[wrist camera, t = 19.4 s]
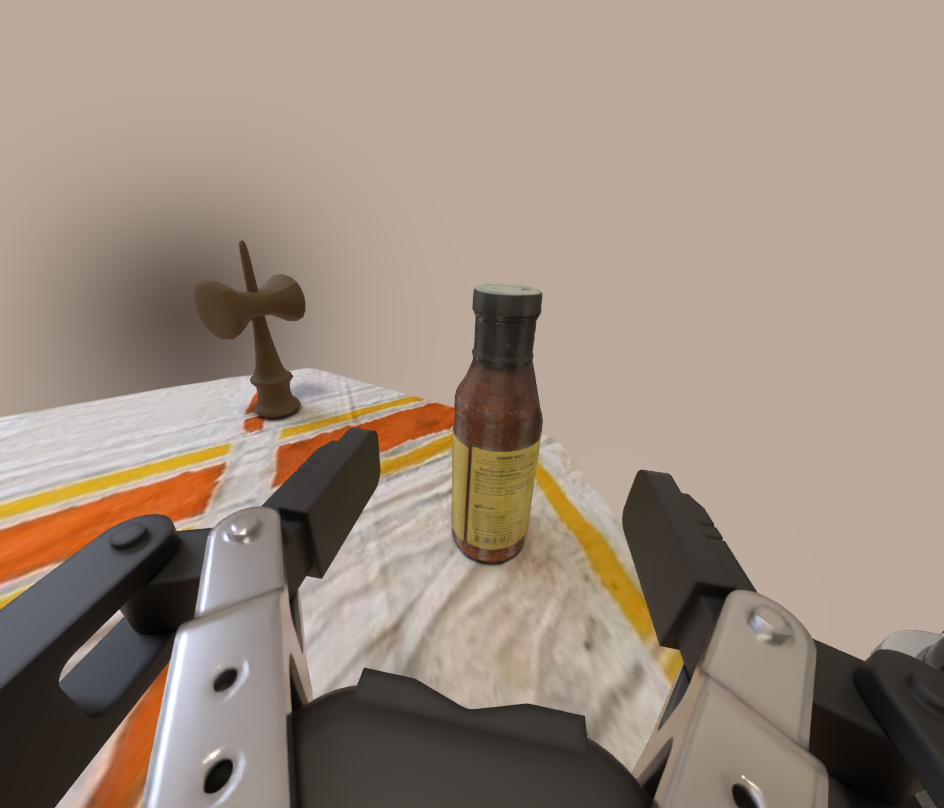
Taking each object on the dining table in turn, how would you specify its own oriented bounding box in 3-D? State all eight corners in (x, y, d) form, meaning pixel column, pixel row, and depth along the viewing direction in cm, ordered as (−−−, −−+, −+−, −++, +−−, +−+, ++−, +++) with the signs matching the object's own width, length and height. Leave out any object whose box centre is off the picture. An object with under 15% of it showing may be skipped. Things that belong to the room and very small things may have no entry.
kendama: (226, 421, 41) (169, 237, 31) (291, 392, 49) (261, 238, 40) (262, 434, 39) (214, 243, 30) (324, 401, 47) (301, 242, 38)
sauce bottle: (537, 534, 29) (592, 293, 20) (494, 583, 25) (538, 304, 15) (478, 496, 32) (502, 278, 23) (431, 533, 28) (437, 283, 19)
